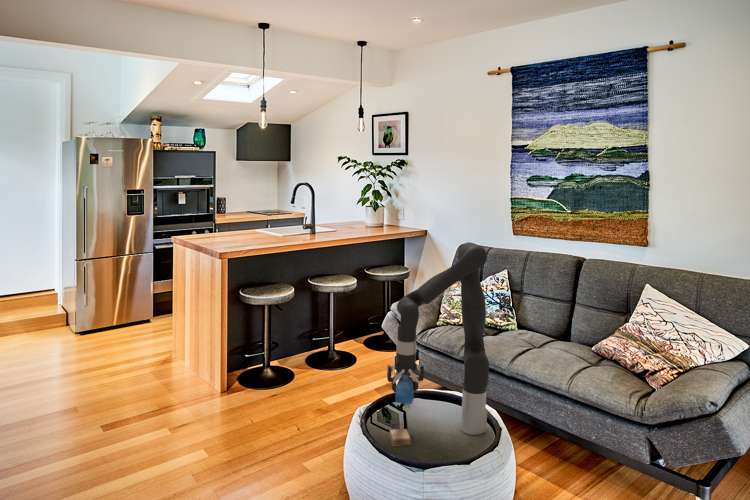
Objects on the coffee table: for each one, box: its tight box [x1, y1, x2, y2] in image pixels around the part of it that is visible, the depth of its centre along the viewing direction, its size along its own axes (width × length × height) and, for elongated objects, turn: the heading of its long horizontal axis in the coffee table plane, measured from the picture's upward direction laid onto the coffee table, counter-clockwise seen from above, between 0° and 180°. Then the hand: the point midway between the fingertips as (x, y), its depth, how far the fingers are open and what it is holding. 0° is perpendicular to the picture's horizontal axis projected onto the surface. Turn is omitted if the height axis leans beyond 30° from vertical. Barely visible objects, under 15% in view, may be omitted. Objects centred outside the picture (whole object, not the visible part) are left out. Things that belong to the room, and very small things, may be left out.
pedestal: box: [388, 428, 412, 447], centre depth 208 cm, size 7×7×3 cm
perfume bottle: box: [394, 371, 415, 405], centre depth 209 cm, size 6×6×12 cm
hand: (404, 390), depth 210 cm, fingers closed on perfume bottle, 7 cm apart
